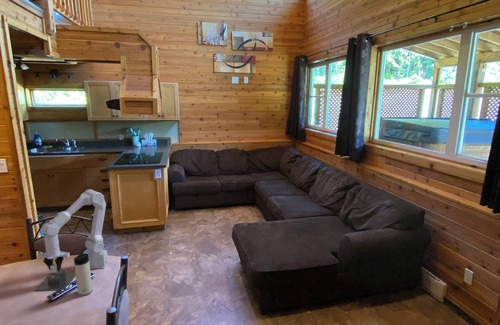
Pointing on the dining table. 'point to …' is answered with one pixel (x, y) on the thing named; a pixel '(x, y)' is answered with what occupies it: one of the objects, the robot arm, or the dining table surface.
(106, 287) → the dining table surface
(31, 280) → the dining table surface
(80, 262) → the travel mug
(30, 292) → the dining table surface
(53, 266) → the column
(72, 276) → the stand base
